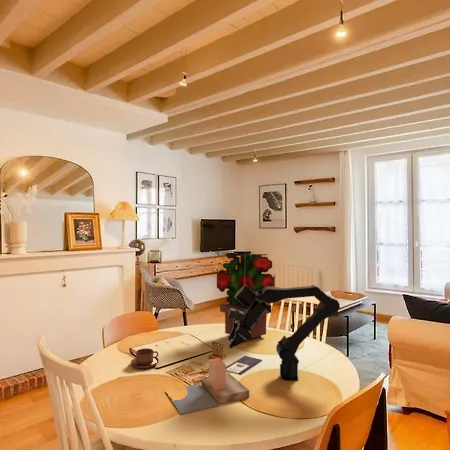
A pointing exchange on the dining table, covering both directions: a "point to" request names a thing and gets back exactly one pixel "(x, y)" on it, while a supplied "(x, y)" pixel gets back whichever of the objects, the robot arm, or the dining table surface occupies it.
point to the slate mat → (195, 400)
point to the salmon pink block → (217, 374)
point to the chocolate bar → (243, 365)
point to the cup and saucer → (144, 358)
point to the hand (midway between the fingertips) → (229, 343)
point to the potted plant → (236, 279)
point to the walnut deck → (226, 390)
